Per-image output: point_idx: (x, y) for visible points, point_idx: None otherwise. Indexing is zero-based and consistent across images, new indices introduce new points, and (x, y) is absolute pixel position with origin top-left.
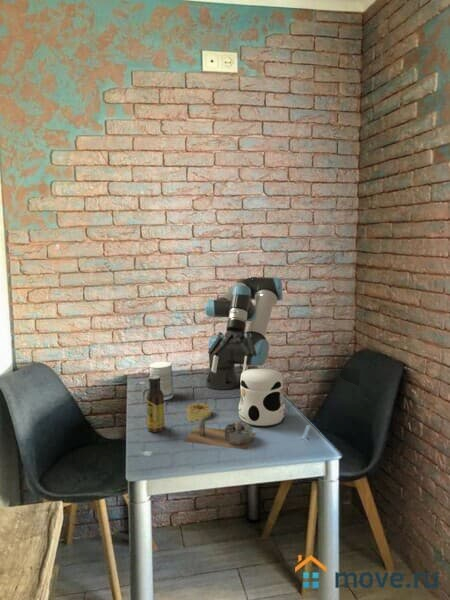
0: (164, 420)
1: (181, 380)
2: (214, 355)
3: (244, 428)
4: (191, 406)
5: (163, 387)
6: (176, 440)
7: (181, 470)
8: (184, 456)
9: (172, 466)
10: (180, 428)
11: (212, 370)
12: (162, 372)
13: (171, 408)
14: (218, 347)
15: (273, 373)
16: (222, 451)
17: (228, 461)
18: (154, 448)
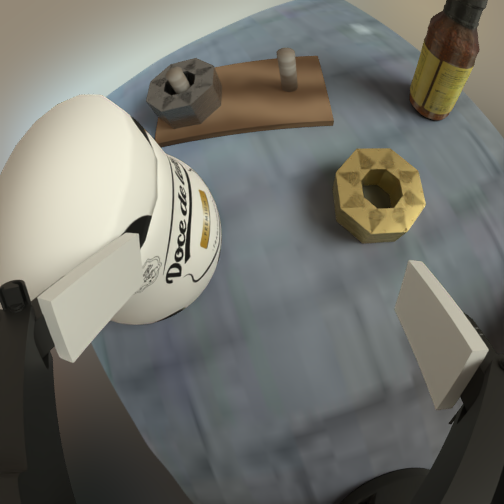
0: (417, 92)
1: None
2: (481, 348)
3: (166, 93)
4: (410, 188)
5: None
6: (344, 69)
7: (267, 11)
8: (286, 33)
9: (288, 13)
10: (378, 119)
11: (413, 262)
12: None
13: (484, 246)
14: (496, 446)
15: (3, 227)
16: (218, 66)
17: (196, 49)
18: (362, 40)
